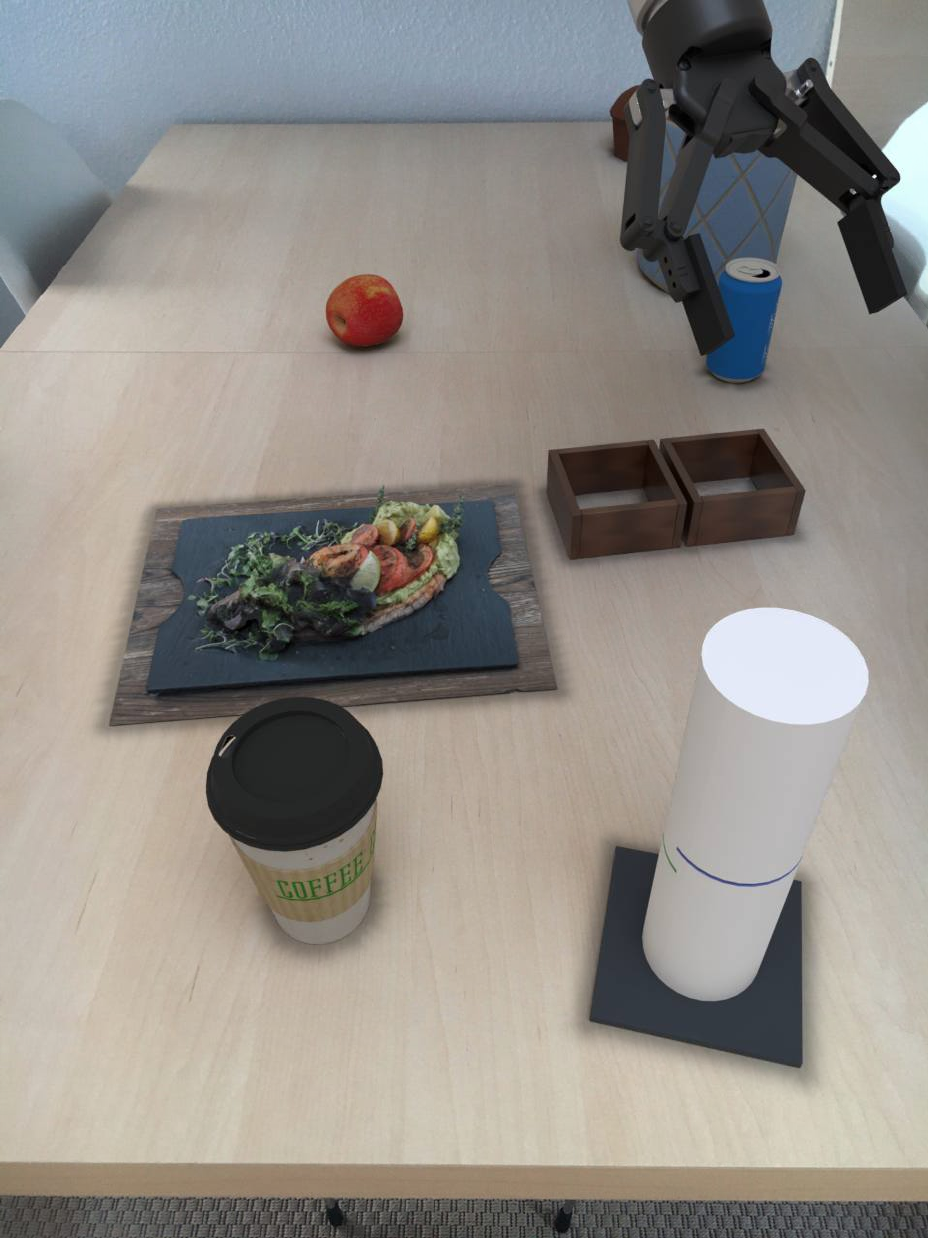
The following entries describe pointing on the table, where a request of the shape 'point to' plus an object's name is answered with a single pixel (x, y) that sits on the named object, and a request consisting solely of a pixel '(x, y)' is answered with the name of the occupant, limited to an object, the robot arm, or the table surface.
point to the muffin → (621, 124)
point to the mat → (645, 1004)
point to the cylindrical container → (747, 793)
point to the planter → (731, 206)
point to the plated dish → (333, 604)
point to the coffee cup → (301, 811)
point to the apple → (364, 310)
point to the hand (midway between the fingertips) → (806, 325)
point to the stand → (672, 493)
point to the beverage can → (747, 318)
